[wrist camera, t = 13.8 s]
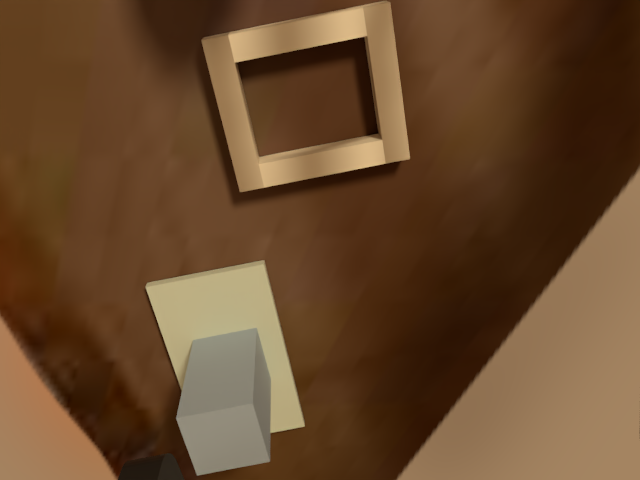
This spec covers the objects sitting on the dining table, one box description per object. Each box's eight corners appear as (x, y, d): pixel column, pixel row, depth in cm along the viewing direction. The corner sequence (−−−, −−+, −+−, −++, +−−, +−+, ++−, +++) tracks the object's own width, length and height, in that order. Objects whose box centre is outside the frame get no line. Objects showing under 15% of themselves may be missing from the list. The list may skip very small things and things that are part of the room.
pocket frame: (385, 0, 35) (390, 2, 33) (405, 151, 39) (410, 158, 37) (204, 37, 35) (201, 40, 34) (241, 184, 39) (239, 192, 37)
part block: (256, 327, 42) (252, 403, 35) (271, 379, 44) (269, 461, 37) (193, 340, 43) (176, 418, 35) (210, 391, 44) (197, 475, 37)
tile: (264, 259, 41) (264, 264, 40) (304, 421, 47) (304, 426, 46) (147, 282, 41) (145, 287, 41) (201, 440, 47) (201, 446, 46)
